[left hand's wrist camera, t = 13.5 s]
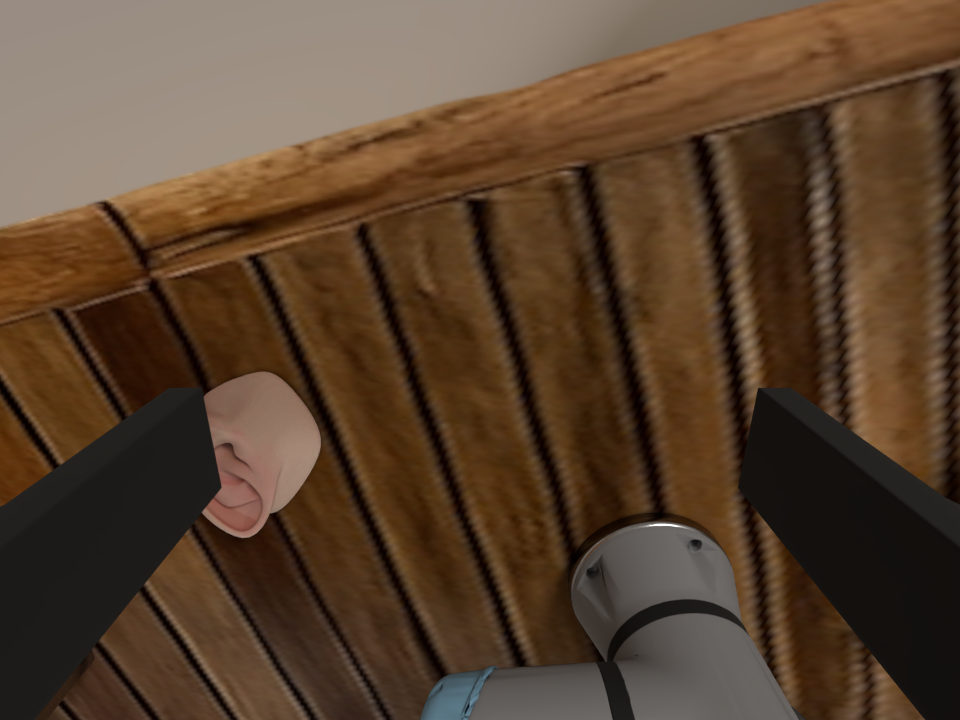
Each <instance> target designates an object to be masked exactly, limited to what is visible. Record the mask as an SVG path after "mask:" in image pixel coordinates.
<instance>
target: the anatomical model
mask: <svg viewBox="0 0 960 720" xmlns="http://www.w3.org/2000/svg"><path fill="white" fill-rule="evenodd" d="M204 402H205V406H206V411H207V416H208V421H209V426H210V431H211V436H212V441H213V446H214V451H215V456H216V461H217V466H218V471H219V476H220V481H221V486H222V488H221V489H220V491H219V492H218V493H217V494H216V496H215V497H214V498H213V499H212V501H211V502H210V503H209V504H208V505H207V507H206V508H205V509H204V510H203V512H202V513H203V514H204V515H205V516H206V517H207V518H208V519H209V520H210V521H211V522H212V523H213V524H215V525H216V526H217V527H219V528H220V529H222V530H224V531H225V532H227V533H229V534H231V535H233V536H237V537H241V538H246V537H250V536H253V535H254V534H256V533H257V532H258V531H259V530H260V529H261V528H262V527H263V525H264V524H265V522H266V520H267V518H268V516H269V514H270V513H274V512H277V511H279V510H280V509H282V508H283V507H284V506H285V505H286V504H287V503H288V502H289V501H290V500H291V499H292V498H293V497H294V495H295V494H296V493H297V491H298V490H299V489H300V487H301V486H302V484H303V483H304V481H305V480H306V478H307V477H308V475H309V474H310V472H311V470H312V468H313V466H314V464H315V462H316V460H317V458H318V455H319V452H320V447H321V437H320V433H319V429H318V427H317V424H316V422H315V420H314V418H313V416H312V415H311V413H310V411H309V410H308V408H307V407H306V406H305V404H304V403H303V402H302V400H301V399H300V398H299V397H298V395H297V394H296V393H295V392H294V391H293V389H292V388H291V387H290V386H289V385H288V384H287V383H286V382H284V381H283V380H282V379H281V378H279V377H278V376H276V375H275V374H272V373H269V372H256V373H251V374H247V375H244V376H241V377H239V378H236V379H233V380H230V381H228V382H225V383H224V384H222V385H220V386H218V387H216V388H215V389H213V390H211V391H210V392H208V393H207V394H206V395H205V396H204Z"/></svg>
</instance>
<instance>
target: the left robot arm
mask: <svg viewBox="0 0 960 720" xmlns="http://www.w3.org/2000/svg"><path fill="white" fill-rule="evenodd" d="M221 488H222V486H221V481H220V476H219V471H218V466H217V461H216V456H215V451H214V446H213V441H212V436H211V431H210V426H209V421H208V416H207V411H206V406H205V402H204V397H203V392H202V388H169V389H167V390H166V391H164V392H163V393H161V394H160V395H159V396H157V397H156V398H154V399H153V400H152V401H150V402H149V403H147V404H146V405H145V406H143V407H142V408H140V409H139V410H138V411H136V412H135V413H133V414H132V415H131V416H129V417H128V418H126V419H125V420H123V421H122V422H121V423H119V424H118V425H116V426H115V427H114V428H112V429H111V430H109V431H108V432H107V433H105V434H104V435H102V436H101V437H100V438H98V439H97V440H95V441H94V442H92V443H91V444H90V445H88V446H87V447H85V448H84V449H83V450H81V451H80V452H78V453H77V454H76V455H74V456H73V457H71V458H70V459H69V460H67V461H66V462H64V463H63V464H62V465H60V466H59V467H57V468H56V469H54V470H53V471H52V472H50V473H49V474H47V475H46V476H45V477H43V478H42V479H40V480H39V481H38V482H36V483H35V484H33V485H32V486H31V487H29V488H28V489H26V490H25V491H23V492H22V493H21V494H19V495H18V496H16V497H15V498H14V499H12V500H11V501H9V502H8V503H7V504H5V505H3V506H1V507H0V720H35V719H36V718H37V716H38V715H39V714H40V713H41V712H42V710H43V709H44V708H45V707H46V705H47V704H48V703H49V702H50V700H51V699H52V698H53V697H54V695H55V694H56V693H57V692H58V690H59V689H60V688H61V687H62V685H63V684H64V683H65V682H66V680H67V679H68V678H69V677H70V676H71V674H72V673H73V672H74V671H75V669H76V668H77V667H78V666H79V664H80V663H81V662H82V661H83V659H84V658H85V657H86V656H87V654H88V653H89V652H90V651H91V649H92V648H93V647H94V646H95V644H96V643H97V642H98V641H99V640H100V638H101V637H102V636H103V635H104V633H105V632H106V631H107V630H108V628H109V627H110V626H111V625H112V623H113V622H114V621H115V620H116V618H117V617H118V616H119V615H120V613H121V612H122V611H123V610H124V608H125V607H126V606H127V605H128V604H129V602H130V601H131V600H132V599H133V597H134V596H135V595H136V594H137V592H138V591H139V590H140V589H141V587H142V586H143V585H144V584H145V582H146V581H147V580H148V579H149V577H150V576H151V575H152V574H153V573H154V571H155V570H156V569H157V568H158V566H159V565H160V564H161V563H162V561H163V560H164V559H165V558H166V556H167V555H168V554H169V553H170V551H171V550H172V549H173V548H174V546H175V545H176V544H177V543H178V541H179V540H180V539H181V538H182V537H183V535H184V534H185V533H186V532H187V530H188V529H189V528H190V527H191V525H192V524H193V523H194V522H195V520H196V519H197V518H198V517H199V515H200V514H201V513H202V512H203V510H204V509H205V508H206V507H207V505H208V504H209V503H210V502H211V501H212V499H213V498H214V497H215V496H216V494H217V493H218V492H219V491H220V489H221ZM738 488H739V489H740V491H741V492H742V493H743V494H744V496H745V497H746V498H747V499H748V501H749V502H750V503H751V504H752V505H753V507H754V508H755V509H756V510H757V512H758V513H759V514H760V515H761V517H762V518H763V519H764V520H765V522H766V523H767V524H768V525H769V527H770V528H771V529H772V530H773V532H774V533H775V534H776V535H777V537H778V538H779V539H780V540H781V541H782V543H783V544H784V545H785V546H786V548H787V549H788V550H789V551H790V553H791V554H792V555H793V556H794V558H795V559H796V560H797V561H798V563H799V564H800V565H801V566H802V568H803V569H804V570H805V571H806V573H807V574H808V575H809V576H810V577H811V579H812V580H813V581H814V582H815V584H816V585H817V586H818V587H819V589H820V590H821V591H822V592H823V594H824V595H825V596H826V597H827V599H828V600H829V601H830V602H831V604H832V605H833V606H834V607H835V608H836V610H837V611H838V612H839V613H840V615H841V616H842V617H843V618H844V620H845V621H846V622H847V623H848V625H849V626H850V627H851V628H852V630H853V631H854V632H855V633H856V635H857V636H858V637H859V638H860V640H861V641H862V642H863V643H864V644H865V646H866V647H867V648H868V649H869V651H870V652H871V653H872V654H873V656H874V657H875V658H876V659H877V661H878V662H879V663H880V664H881V666H882V667H883V668H884V669H885V671H886V672H887V673H888V674H889V676H890V677H891V678H892V679H893V680H894V682H895V683H896V684H897V685H898V687H899V688H900V689H901V690H902V692H903V693H904V694H905V695H906V697H907V698H908V699H909V700H910V702H911V703H912V704H913V705H914V707H915V708H916V709H917V710H918V712H919V713H920V714H921V715H922V716H923V718H924V719H925V720H960V504H958V503H956V502H953V501H951V500H949V499H947V498H945V497H944V496H942V495H941V494H939V493H938V492H937V491H935V490H934V489H932V488H931V487H929V486H928V485H927V484H925V483H924V482H922V481H921V480H920V479H918V478H917V477H915V476H914V475H913V474H911V473H910V472H908V471H907V470H906V469H904V468H903V467H901V466H900V465H898V464H897V463H896V462H894V461H893V460H891V459H890V458H889V457H887V456H886V455H884V454H883V453H882V452H880V451H879V450H877V449H876V448H875V447H873V446H872V445H870V444H869V443H868V442H866V441H865V440H863V439H862V438H860V437H859V436H858V435H856V434H855V433H853V432H852V431H851V430H849V429H848V428H846V427H845V426H844V425H842V424H841V423H839V422H838V421H837V420H835V419H834V418H832V417H831V416H829V415H828V414H827V413H825V412H824V411H822V410H821V409H820V408H818V407H817V406H815V405H814V404H813V403H811V402H810V401H808V400H807V399H806V398H804V397H803V396H801V395H800V394H799V393H797V392H796V391H794V390H793V389H791V388H758V392H757V397H756V402H755V406H754V411H753V416H752V421H751V426H750V431H749V436H748V441H747V446H746V451H745V456H744V461H743V466H742V471H741V476H740V481H739V486H738ZM569 591H570V596H571V601H572V605H573V609H574V612H575V614H576V617H577V619H578V620H579V622H580V623H581V625H582V626H583V628H584V629H585V631H586V632H587V634H588V635H589V637H590V638H591V640H592V641H593V643H594V644H595V646H596V647H597V649H598V650H599V652H600V653H601V655H602V656H603V658H604V660H605V661H606V662H588V663H573V664H558V665H543V666H528V667H513V668H498V667H497V666H489V667H487V668H486V669H484V670H476V671H469V672H461V673H453V674H449V675H447V676H445V677H443V678H442V679H441V680H439V681H438V682H437V683H436V684H435V686H434V687H433V689H432V690H431V692H430V694H429V696H428V698H427V701H426V703H425V705H424V708H423V712H422V715H421V718H420V720H806V719H805V718H804V717H803V716H802V715H801V714H800V713H799V712H797V711H796V710H795V709H794V708H793V707H792V706H791V705H790V704H789V702H788V700H787V699H786V697H785V695H784V694H783V692H782V690H781V688H780V687H779V685H778V683H777V682H776V680H775V678H774V677H773V675H772V673H771V671H770V670H769V668H768V666H767V665H766V663H765V661H764V659H763V658H762V656H761V654H760V653H759V651H758V649H757V648H756V646H755V644H754V642H753V641H752V639H751V638H750V636H749V634H748V632H747V631H746V629H745V627H744V625H743V624H742V621H741V615H740V609H739V604H738V598H737V592H736V586H735V580H734V574H733V569H732V566H731V563H730V561H729V559H728V557H727V555H726V554H725V552H724V551H723V549H722V547H721V546H720V544H719V543H718V541H717V540H716V538H715V537H714V536H713V535H712V534H711V533H710V532H709V531H708V530H707V529H706V528H704V527H703V526H701V525H700V524H698V523H696V522H694V521H692V520H690V519H688V518H685V517H682V516H678V515H673V514H667V513H644V514H638V515H633V516H629V517H626V518H623V519H620V520H617V521H615V522H613V523H611V524H609V525H607V526H605V527H603V528H602V529H600V530H599V531H597V532H596V533H595V534H593V535H592V536H591V537H590V538H589V539H588V540H587V541H586V542H585V543H584V544H583V545H582V547H581V548H580V549H579V551H578V552H577V554H576V556H575V558H574V560H573V562H572V565H571V568H570V573H569Z"/></svg>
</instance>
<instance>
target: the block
mask: <svg viewBox="0 0 960 720" xmlns="http://www.w3.org/2000/svg"><path fill="white" fill-rule="evenodd" d="M93 660H94V657H93V654H92V651H90V652H89V653H88V654H87V656H86V657H85V658H84V659H83V661H82V662H81V663H80V664H79V666H78V667H77V668H76V669H75V671H74V672H73V673H72V674H71V676H70V677H69V678H68V679H67V680H66V682H65V683H64V684H63V685H62V687H61V688H60V689H59V690H58V692H57V693H56V694H55V695H54V697H53V698H52V699H51V700H50V702H49V703H48V704H47V705H46V707H45V708H44V709H43V710H42V712H41V713H40V714H39V715H38V716H37V718H36V719H35V720H47V719H48V717H49V716H50V715H51V714H52V712H53V711H54V710H55V708H56V707H57V706H58V705H59V703H60V702H61V701H62V700H63V698H64V697H65V696H66V694H67V693H68V692H69V691H70V689H71V688H72V687H73V686H74V684H75V683H76V682H77V680H78V679H79V678H80V677H81V675H82V674H83V673H84V672H85V670H86V669H87V668H88V666H89V665H90V664H91V663H92V661H93Z"/></svg>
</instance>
